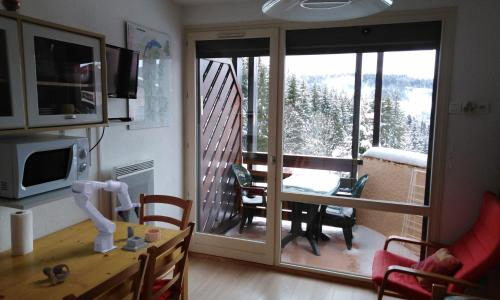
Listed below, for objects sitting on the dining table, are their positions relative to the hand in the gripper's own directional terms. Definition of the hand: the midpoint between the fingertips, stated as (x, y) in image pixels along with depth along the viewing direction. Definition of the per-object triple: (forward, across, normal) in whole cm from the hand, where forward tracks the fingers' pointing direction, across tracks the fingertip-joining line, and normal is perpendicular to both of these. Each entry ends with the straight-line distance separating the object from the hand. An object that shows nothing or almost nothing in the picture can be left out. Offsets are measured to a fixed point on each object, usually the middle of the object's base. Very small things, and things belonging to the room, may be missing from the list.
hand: (132, 218), depth 220 cm
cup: (+13, -10, +7) cm, 18 cm away
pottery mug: (-10, +24, +52) cm, 58 cm away
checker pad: (+5, -3, +17) cm, 18 cm away
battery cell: (+11, +3, +5) cm, 12 cm away
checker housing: (+8, -2, +18) cm, 19 cm away
